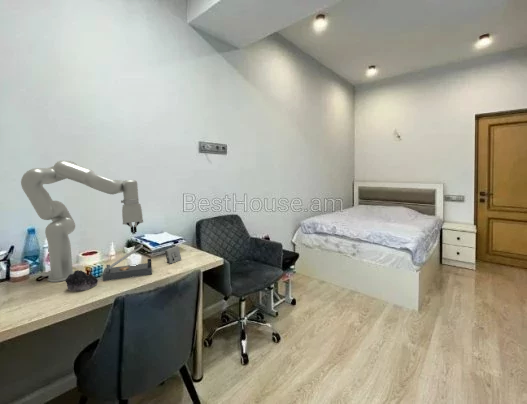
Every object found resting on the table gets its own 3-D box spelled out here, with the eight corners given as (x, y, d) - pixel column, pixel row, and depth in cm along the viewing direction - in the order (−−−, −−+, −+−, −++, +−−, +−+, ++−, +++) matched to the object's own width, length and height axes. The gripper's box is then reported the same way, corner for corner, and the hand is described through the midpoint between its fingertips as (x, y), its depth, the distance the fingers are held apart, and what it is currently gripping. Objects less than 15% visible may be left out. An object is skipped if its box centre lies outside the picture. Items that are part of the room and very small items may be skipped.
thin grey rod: (107, 271, 146) (104, 268, 145) (107, 269, 148) (105, 266, 148) (143, 246, 152) (140, 244, 151) (143, 245, 154) (141, 242, 154)
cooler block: (103, 281, 143) (102, 268, 142) (105, 275, 151) (104, 263, 150) (151, 274, 152) (151, 262, 151) (151, 269, 160) (151, 257, 160)
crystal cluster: (95, 280, 146) (92, 262, 145) (101, 286, 136) (97, 267, 135) (65, 289, 137) (61, 270, 136) (69, 296, 127) (65, 276, 126)
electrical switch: (170, 264, 169) (169, 249, 168) (164, 263, 172) (163, 249, 171) (181, 260, 177) (180, 246, 177) (176, 259, 180) (174, 245, 179)
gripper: (116, 203, 146) (118, 236, 148) (146, 201, 152) (148, 233, 155) (116, 202, 153) (119, 233, 155) (145, 200, 159) (147, 230, 161)
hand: (134, 233), depth 155 cm, fingers closed
